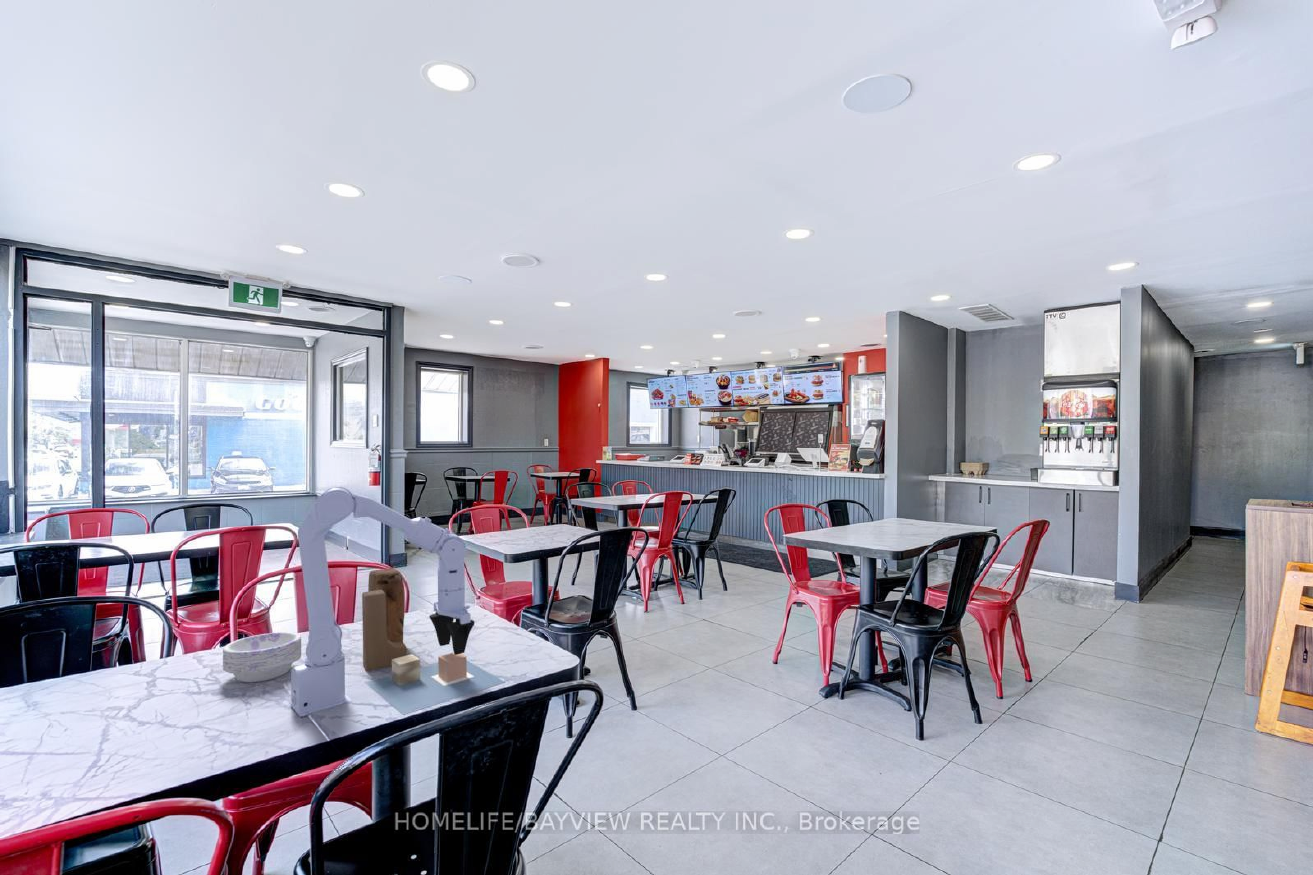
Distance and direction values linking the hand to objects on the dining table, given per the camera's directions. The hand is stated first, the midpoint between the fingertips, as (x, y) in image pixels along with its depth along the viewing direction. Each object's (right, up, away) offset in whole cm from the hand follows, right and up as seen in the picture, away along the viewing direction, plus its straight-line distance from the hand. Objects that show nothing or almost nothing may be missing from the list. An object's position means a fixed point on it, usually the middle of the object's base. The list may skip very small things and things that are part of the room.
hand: (451, 649), depth 136 cm
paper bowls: (-45, -8, +4) cm, 46 cm away
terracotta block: (0, -6, 0) cm, 6 cm away
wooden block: (-19, -7, +8) cm, 22 cm away
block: (-24, -7, +21) cm, 33 cm away
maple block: (-10, -6, -1) cm, 12 cm away
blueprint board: (-3, -7, -3) cm, 8 cm away
